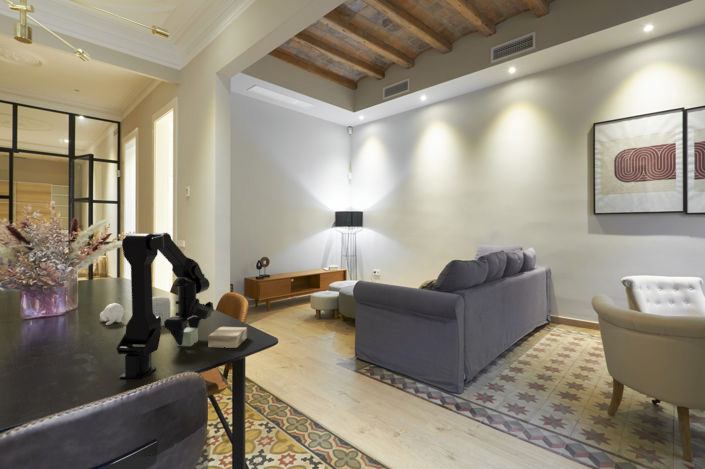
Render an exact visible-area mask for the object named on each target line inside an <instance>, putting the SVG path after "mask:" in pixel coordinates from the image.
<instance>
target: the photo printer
mask: <svg viewBox="0 0 705 469" xmlns="http://www.w3.org/2000/svg"><path fill="white" fill-rule="evenodd" d="M152 305H153V314H154V315H155V316H158V317H160V318H161V327H164V321H165V320H166V319H169V318H171V299H170V297H168V296H158V295H157V296H152Z"/></svg>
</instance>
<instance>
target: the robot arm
mask: <svg viewBox="0 0 705 469" xmlns="http://www.w3.org/2000/svg"><path fill="white" fill-rule="evenodd" d="M171 236H172V235H171V234H169V233H167V232H153V233H128V234H127V235H125V237H124V238H123V239H122V241H121V247H122V253H123V257H124V259H125V260H126V261H127V263H128V264H129V266H130V280H131V281H130V283H131V284H130V285H131V286H130V287H131V317H130V318H129V320H128V321H127V323H126V324H125V325H126V326H125V333H124V335H123V336H122V338H121V340H120V341H119V343H118V345H117V347H116V352H117V354H118V355H125V356H124V372H123V373H122V374H121V375H119V378H120V379H139V380H140V379H141V380H142V379H144V378H145V377H146V376H148V375H149V374H150V373H152V372H154V371H155V370H156V369H157V367H156V366H152V353H154V352H156V351H158V349H159V345H160V338H161V336H162V326H161V318H160V317H158V316H155V315H154V314H153V305H152V297H153V284H152V283H153V281H152V280H153V278H152V277H153V275H152V274H153V273H152V264H153V262H154V261H155V259H156V257H157V256H158V252H160V253H161V255H162V256H163V257H164V258H165V259H166V260H167V261H168V262H169V263H170V264H171V266H172V270H171V271H172V272H173V274H174V275H175V277H176V278H177V279H178V280H177V281H176V282H175V284H174V286H175V287H177V292H178V293H177V294H178V295H177V298H178V300H175V305H177V306H178V307H177V309H178V311H177V312H175V316H170V318H169V319H166V320H165V321H164V326H163V328H164V329H165V330H168V331H169V333H170V334H171V335H172V337H173V338H174V340H175V342H176V345H177V344H178V345H182V342H183V334H184V330H185V329H186V328H198V329H199V326H200V324H201V321H202V320H207V319H208V318H210V317H211V315H212V312H214V310H215V309H214V303H213V302H212V301H208V302H206V303H201V302H200V299H199V298H197V294H201V293H203V292H205V291H208V289H209V288H210V281H209V279H208V278H207V277H205V273H203V271H202V269H201V267H200V265H199V263H198V262H197V261H196V260H194V259H193V258H190V257H188V256H186V255H185V254H184V252H183V251H182V250H181V249H180V247H179V246H178V245H177V244H176V243H175V242H174V240H173V239H172V237H171ZM134 345H137V346H134ZM138 345H139V346H138Z"/></svg>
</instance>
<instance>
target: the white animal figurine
mask: <svg viewBox="0 0 705 469" xmlns="http://www.w3.org/2000/svg"><path fill="white" fill-rule="evenodd" d="M124 312H125V309H124V308H123V306H122V305H121V304H119V303H118V302H117V303H116V302H113V303H110V304H108V305H107V306H106V307H105V308H104V310H102V311H101V312H100V313H99V317H100V318H99V320H100V322H106V323H105V326H109V325H112V324H114V322H115V321H116V322H117V323H122V319H123V318H122V317H123V315H124V314H125V313H124Z"/></svg>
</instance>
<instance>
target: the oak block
mask: <svg viewBox="0 0 705 469" xmlns="http://www.w3.org/2000/svg"><path fill="white" fill-rule="evenodd" d="M247 338H248V327H246V326H245V327H241V326H220V327H218V328H217V329H215V330H214V331H213V332H211V333H210V334H208V336H207V340H208V342H207V344H208V345H207V347H208V348H224V347H225V349H226V348H229V349H232V348H234V349H235V348H236V349H237V348H238V347H239V346H240V345H241V344H242V343H243V342H245V341H246V339H247Z"/></svg>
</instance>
